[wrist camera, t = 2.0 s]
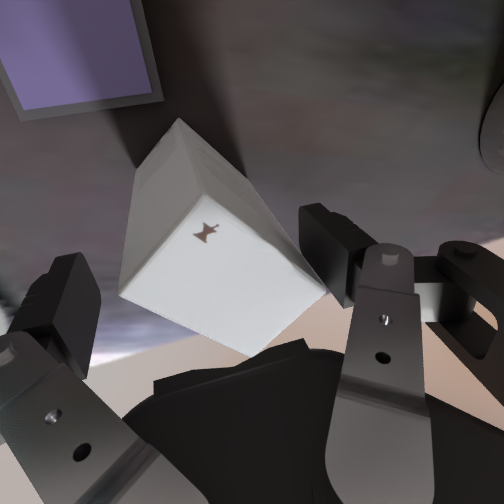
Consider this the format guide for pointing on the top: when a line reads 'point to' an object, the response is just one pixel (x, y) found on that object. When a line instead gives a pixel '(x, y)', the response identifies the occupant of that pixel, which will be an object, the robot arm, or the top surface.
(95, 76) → the ink pad
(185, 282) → the skincare box
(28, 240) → the top surface
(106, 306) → the top surface
